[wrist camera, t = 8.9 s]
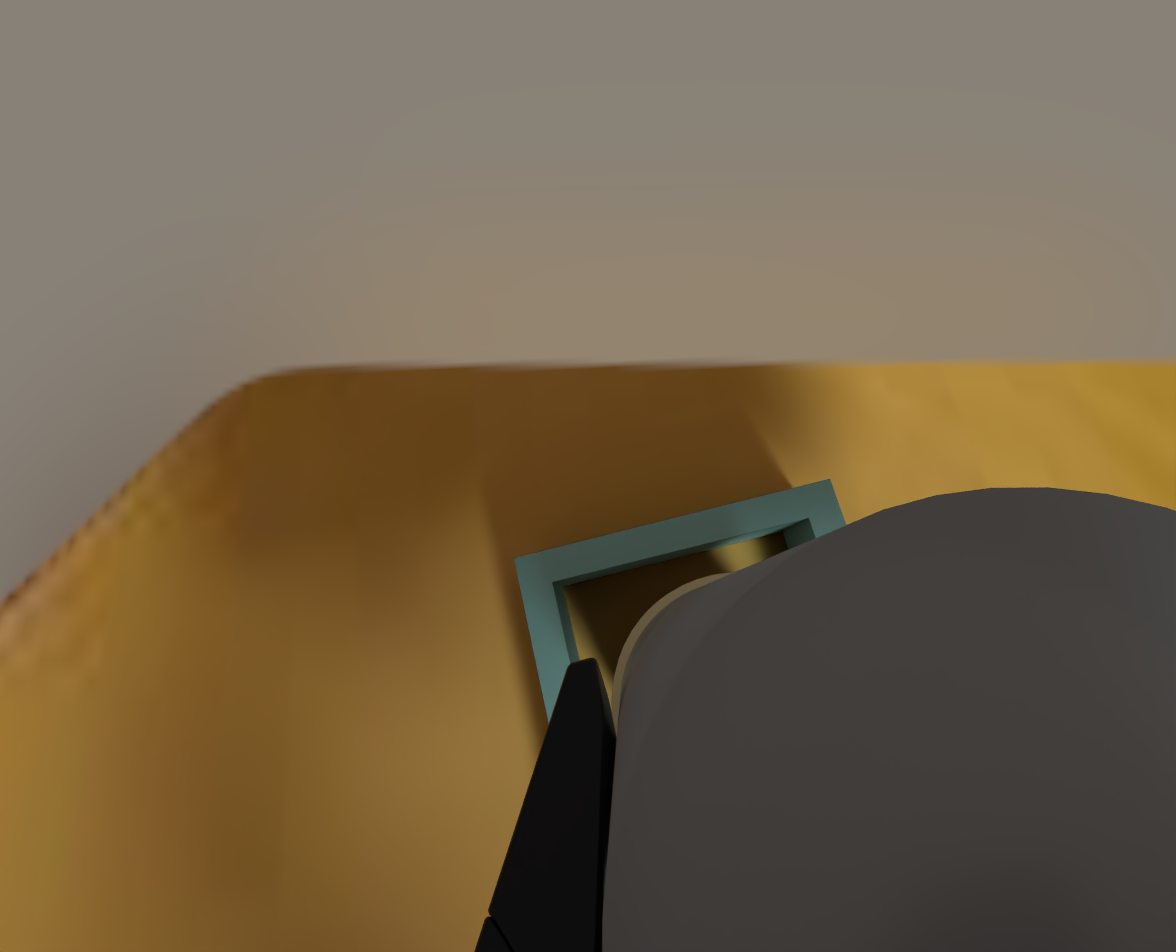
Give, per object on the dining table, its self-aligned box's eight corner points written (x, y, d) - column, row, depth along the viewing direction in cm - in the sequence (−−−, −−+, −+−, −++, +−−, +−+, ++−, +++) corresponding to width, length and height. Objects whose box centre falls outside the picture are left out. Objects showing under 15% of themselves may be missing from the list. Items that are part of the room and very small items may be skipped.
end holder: (901, 797, 15) (954, 832, 13) (596, 872, 15) (590, 922, 13) (800, 498, 17) (829, 478, 15) (529, 565, 17) (513, 558, 15)
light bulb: (838, 638, 15) (1795, 727, 3) (764, 825, 14) (1682, 2211, 2) (664, 553, 16) (799, 327, 3) (583, 726, 15) (383, 1236, 3)
